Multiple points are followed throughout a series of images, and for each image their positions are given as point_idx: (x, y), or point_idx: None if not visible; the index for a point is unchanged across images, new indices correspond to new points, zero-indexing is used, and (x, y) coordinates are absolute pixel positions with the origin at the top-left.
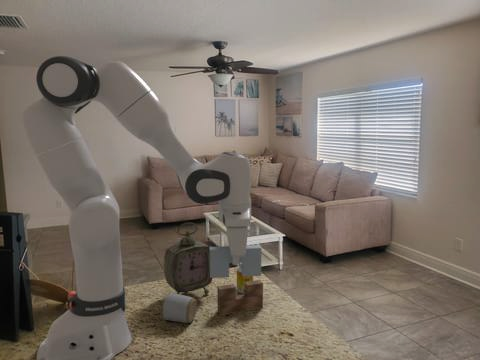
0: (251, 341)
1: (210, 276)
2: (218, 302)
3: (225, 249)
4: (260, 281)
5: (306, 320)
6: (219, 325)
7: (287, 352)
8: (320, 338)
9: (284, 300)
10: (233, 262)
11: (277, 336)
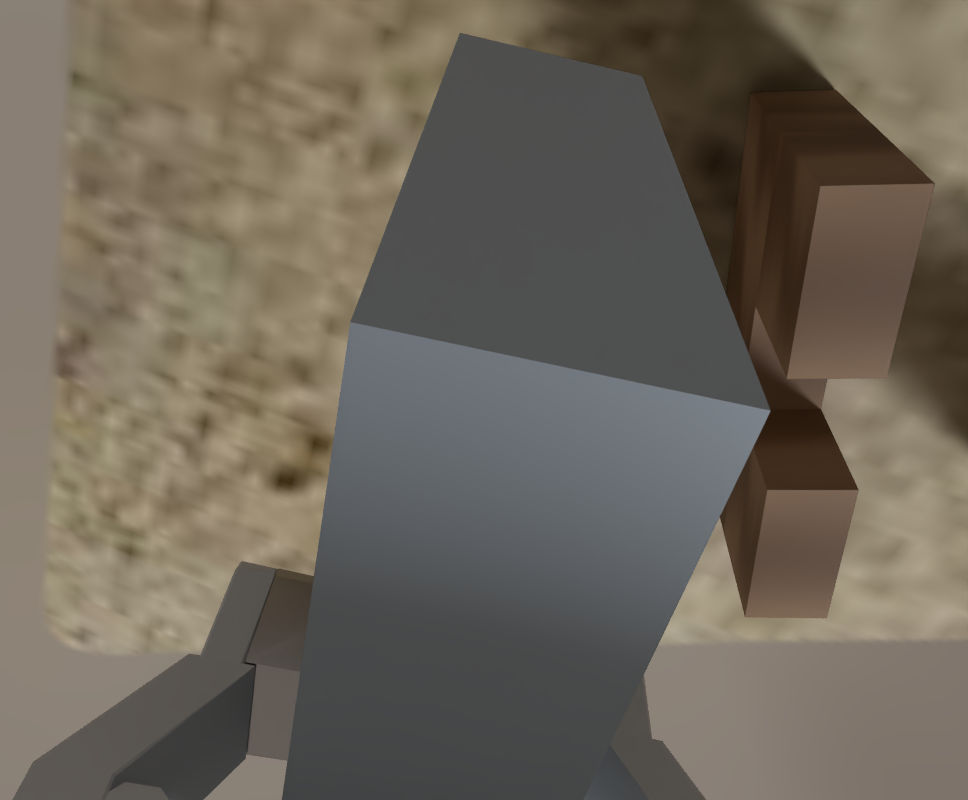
0: (247, 217)
1: (458, 46)
2: (828, 122)
3: (295, 751)
4: (788, 610)
5: None
6: (562, 31)
7: (87, 385)
8: (214, 592)
9: (730, 612)
10: (230, 600)
11: (279, 401)
